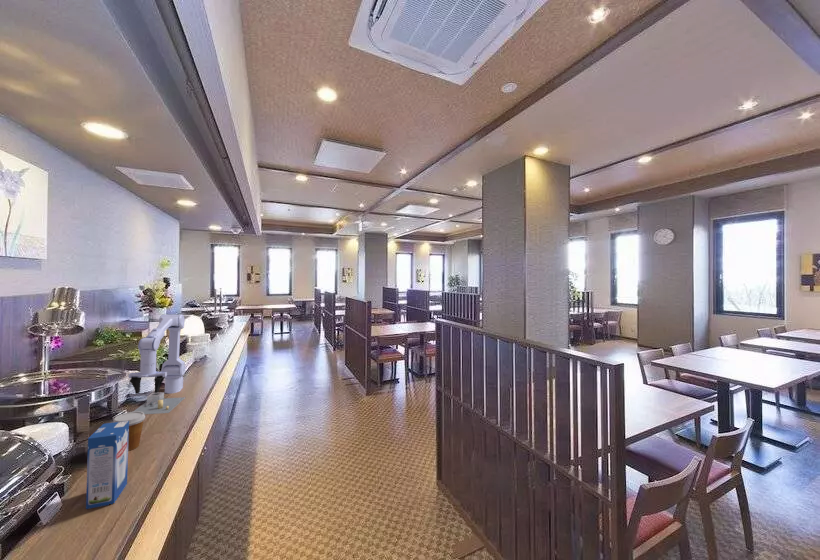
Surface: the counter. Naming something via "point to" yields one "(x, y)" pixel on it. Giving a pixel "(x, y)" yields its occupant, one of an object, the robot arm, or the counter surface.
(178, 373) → the robot arm
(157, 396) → the metal bracket with prongs
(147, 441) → the counter surface
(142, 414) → the disposable coffee cup
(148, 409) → the base plate
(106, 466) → the milk carton
